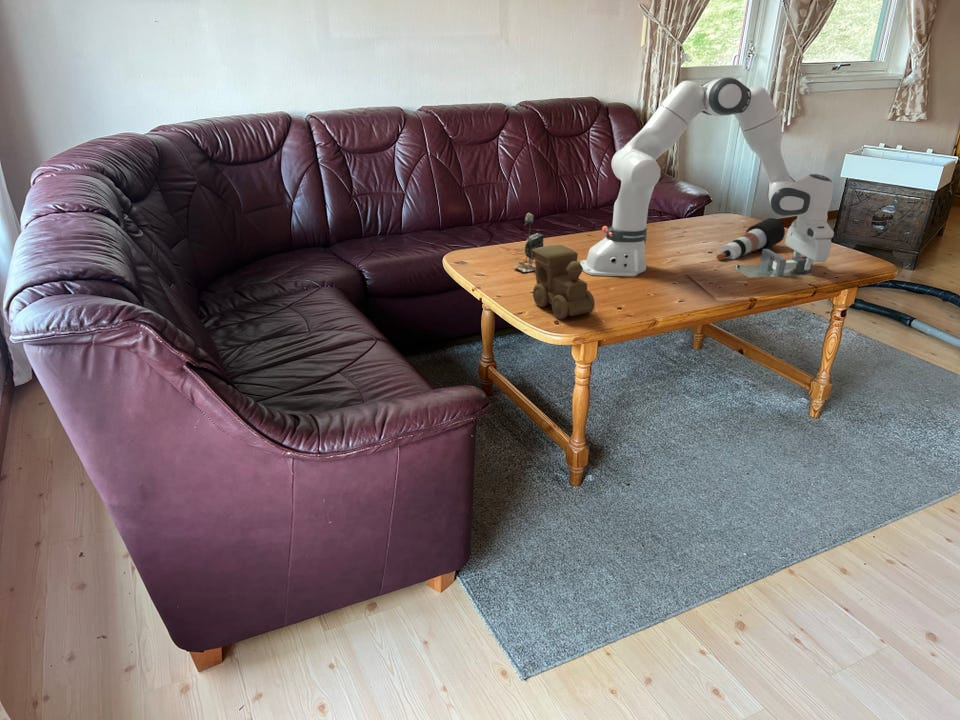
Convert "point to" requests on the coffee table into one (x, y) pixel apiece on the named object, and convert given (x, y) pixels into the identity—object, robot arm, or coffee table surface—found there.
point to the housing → (768, 267)
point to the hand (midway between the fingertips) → (801, 266)
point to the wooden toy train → (560, 282)
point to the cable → (754, 239)
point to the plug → (794, 264)
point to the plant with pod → (530, 247)
